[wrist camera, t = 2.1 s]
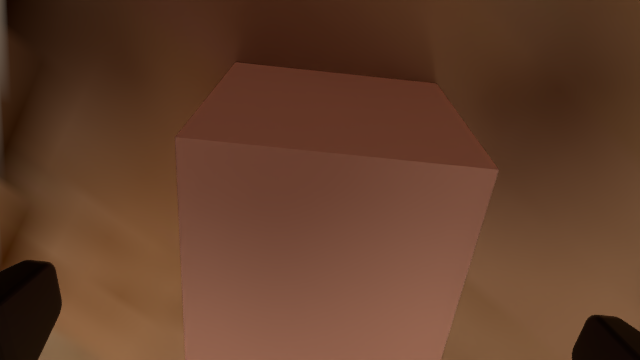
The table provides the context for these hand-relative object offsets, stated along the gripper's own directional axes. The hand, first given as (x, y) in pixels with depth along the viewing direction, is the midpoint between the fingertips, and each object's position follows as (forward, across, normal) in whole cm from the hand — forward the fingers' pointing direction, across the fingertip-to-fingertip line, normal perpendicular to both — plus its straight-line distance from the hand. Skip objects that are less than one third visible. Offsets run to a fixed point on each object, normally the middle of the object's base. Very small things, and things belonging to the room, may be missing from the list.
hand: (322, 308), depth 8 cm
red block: (+6, 0, 0) cm, 6 cm away
